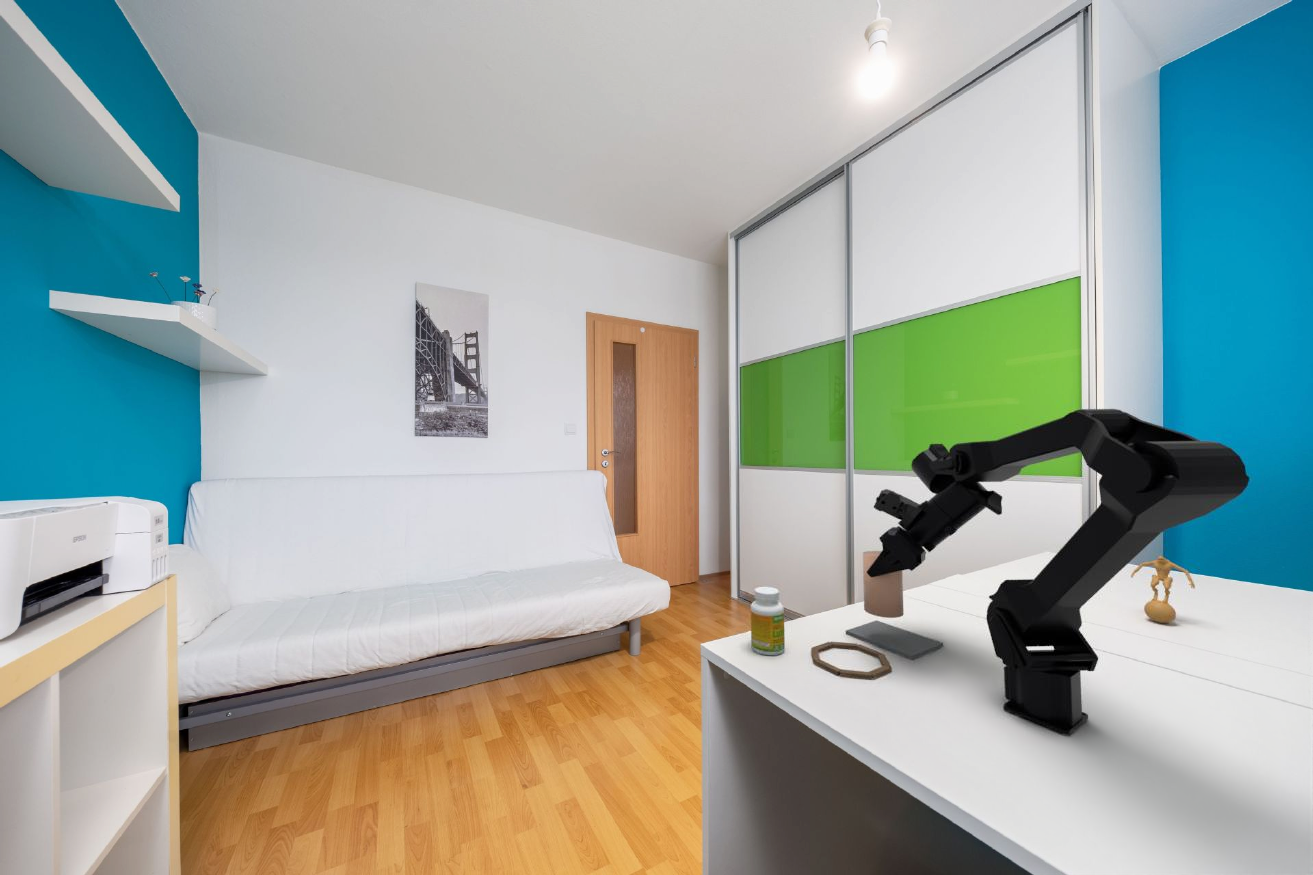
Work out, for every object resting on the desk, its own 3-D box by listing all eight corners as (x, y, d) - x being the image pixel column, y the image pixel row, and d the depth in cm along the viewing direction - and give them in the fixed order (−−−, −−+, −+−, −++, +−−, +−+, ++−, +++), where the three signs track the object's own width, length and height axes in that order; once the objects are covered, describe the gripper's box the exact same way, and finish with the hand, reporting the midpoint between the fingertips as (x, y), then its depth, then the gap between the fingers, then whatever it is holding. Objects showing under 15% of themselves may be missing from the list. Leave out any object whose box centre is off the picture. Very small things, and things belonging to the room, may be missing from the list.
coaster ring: (904, 665, 70) (904, 661, 70) (858, 685, 64) (858, 681, 64) (842, 640, 79) (841, 637, 79) (797, 656, 73) (797, 652, 73)
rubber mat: (943, 646, 76) (943, 642, 76) (912, 659, 72) (912, 655, 72) (876, 623, 87) (876, 620, 87) (845, 633, 82) (845, 630, 82)
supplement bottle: (776, 659, 73) (775, 597, 73) (745, 650, 76) (744, 591, 76) (789, 647, 77) (788, 588, 77) (759, 639, 80) (758, 583, 80)
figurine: (1125, 617, 88) (1122, 554, 88) (1137, 611, 91) (1135, 550, 91) (1189, 632, 81) (1186, 563, 81) (1201, 625, 84) (1198, 559, 84)
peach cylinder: (911, 612, 77) (909, 555, 77) (890, 620, 74) (888, 561, 74) (877, 602, 82) (875, 549, 82) (856, 609, 79) (855, 554, 79)
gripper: (916, 470, 83) (854, 526, 90) (893, 477, 69) (820, 542, 75) (970, 518, 78) (899, 573, 85) (957, 536, 64) (873, 600, 70)
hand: (873, 570), depth 79 cm, fingers closed on peach cylinder, 6 cm apart
